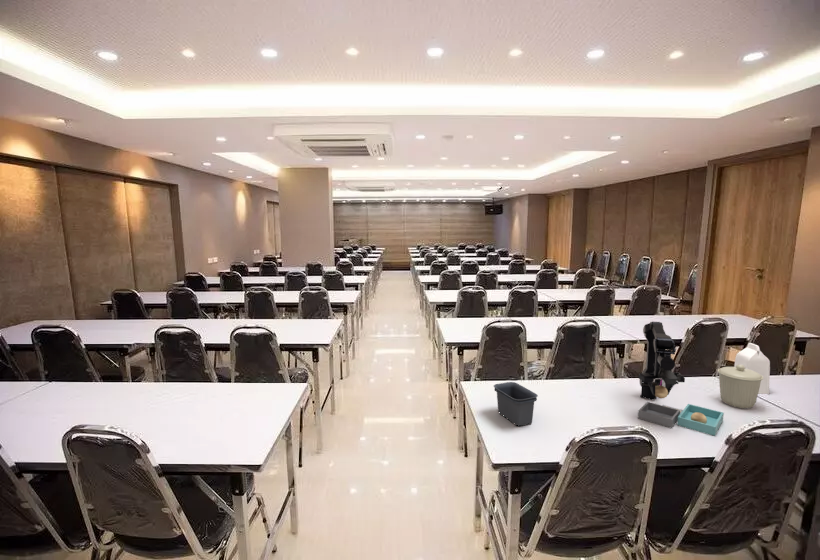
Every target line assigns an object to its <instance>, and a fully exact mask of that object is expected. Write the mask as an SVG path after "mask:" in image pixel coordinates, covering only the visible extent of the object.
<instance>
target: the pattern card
mask: <svg viewBox="0 0 820 560" xmlns="http://www.w3.org/2000/svg"><path fill="white" fill-rule="evenodd" d="M661 405H662V406H666V407H670V408H674V409H678V410H680V414H681V412H682V411H683V410H684V409H682V408H677V407H674V406H669V405H666V404H661Z"/></svg>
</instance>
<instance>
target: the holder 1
mask: <svg viewBox="0 0 820 560" xmlns="http://www.w3.org/2000/svg"><path fill="white" fill-rule="evenodd" d="M662 405H663V404H658V403H655V402H650V401H646V402H645V403H644V404H643V405H642V406H641V407H640V408H639V409H638V412H637V419H639V420H642V421H646V422H650V423H653V424H656V425H659V426H662V427H666V428H670V429H673V428H672V427H674V426H675V425H676V424H677V422H678V416H679V415H680V410H678V409H679V408H677V409H674V408H675V407H673V408H670V407H671V406H670V407H666V406H667V405H666V406H662Z"/></svg>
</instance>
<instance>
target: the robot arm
mask: <svg viewBox="0 0 820 560" xmlns="http://www.w3.org/2000/svg"><path fill="white" fill-rule="evenodd" d="M642 333H643V335H644V336H643V337H644V338H645V339H646V341H647V344H646V361H645V368H644V369H643V370H642V372H640V373H639V374H638V377H637V378H638V379H639V386H640V387H641V390H640V391H641V392H640V395H639V396H640V398H643V399H648V400H652V401H654V400H655V399H657V397H656V396H655V387H656V386H658V385H660V382H661V380H660V379H663V381H664V382H665V388H666V389H667V390H668V395H670V392H671V391H672V389H673V387H674V386H675V385H678V384H679V383H685V379H686V378H685V376H684V375H683V374H681V373H680V372H673V371H672V370H673V369H674V368H675V367H676V362H675V361H674V359H673V358H672V355H676V351H677V348H676V342H674V339H672V337H671V336H670V335H668V334H667V333H666V331H665V330H664V325H663V322H660V321H650V322H649V323H646V324H644V325H643V328H642Z"/></svg>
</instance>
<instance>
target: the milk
mask: <svg viewBox="0 0 820 560" xmlns="http://www.w3.org/2000/svg"><path fill="white" fill-rule="evenodd" d="M739 364H740V365H743V366H744V367H745V369H749V370H752V371H755V372H757V373H759V374H760V375H762V376H763V380H761V384H760V388H759V392H758V395H770V373H771V361H770V359H769V358H768V357H767V356H766V355H764V353H763V352H762V351H761V349H760V346H759V345H757V344H756V343H752V342H748V344H747V346H746V347H745V348H743V349H741V350H740V351H739V352H737V353H736V354H735V360H734V366H733V367H736V365H739Z"/></svg>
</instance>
